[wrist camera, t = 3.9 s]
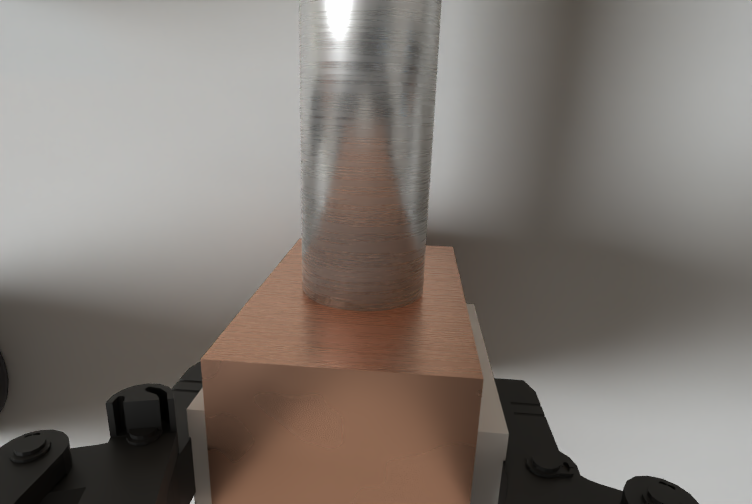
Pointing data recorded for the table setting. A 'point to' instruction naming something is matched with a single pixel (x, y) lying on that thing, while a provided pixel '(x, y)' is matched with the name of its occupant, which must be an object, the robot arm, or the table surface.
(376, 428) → the copper head mallet
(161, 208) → the table surface
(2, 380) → the travel mug
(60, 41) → the table surface
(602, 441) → the table surface
